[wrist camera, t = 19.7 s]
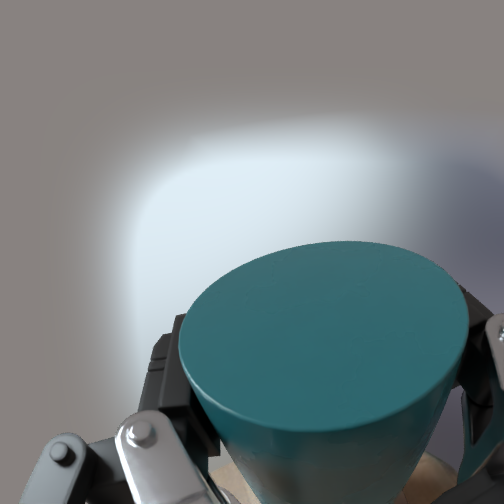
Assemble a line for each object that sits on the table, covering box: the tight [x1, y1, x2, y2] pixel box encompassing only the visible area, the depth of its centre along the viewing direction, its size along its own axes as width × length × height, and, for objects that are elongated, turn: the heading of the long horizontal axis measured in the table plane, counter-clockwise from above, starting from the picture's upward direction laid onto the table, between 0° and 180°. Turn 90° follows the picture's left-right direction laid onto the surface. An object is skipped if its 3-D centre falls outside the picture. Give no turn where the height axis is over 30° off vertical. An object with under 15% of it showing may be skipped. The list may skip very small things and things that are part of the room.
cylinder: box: [178, 241, 469, 504], centre depth 8 cm, size 6×6×12 cm
